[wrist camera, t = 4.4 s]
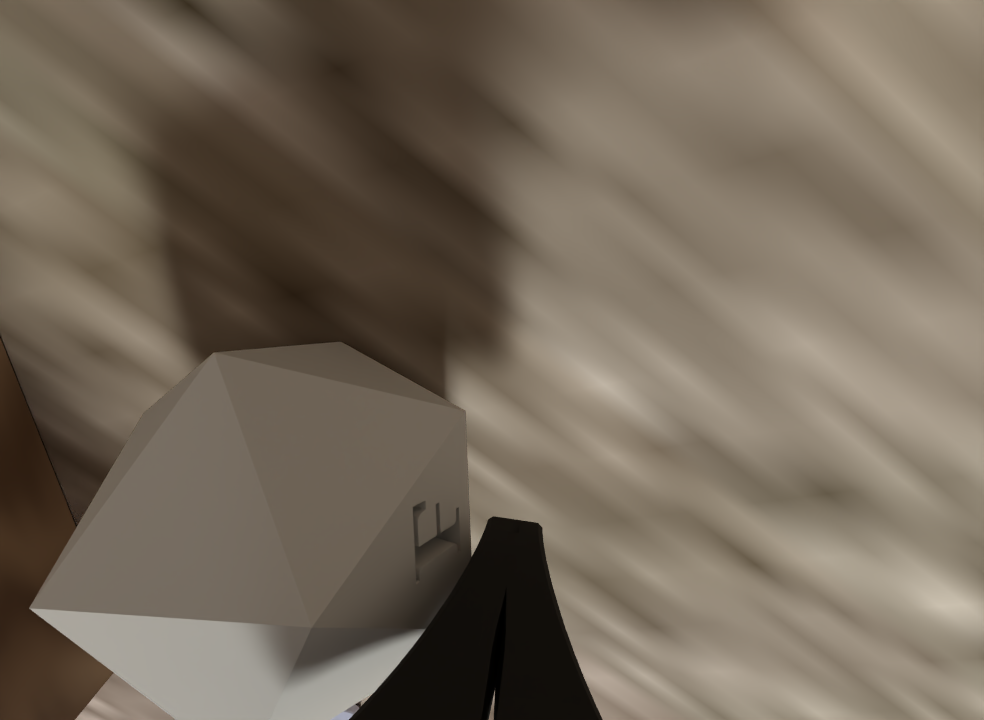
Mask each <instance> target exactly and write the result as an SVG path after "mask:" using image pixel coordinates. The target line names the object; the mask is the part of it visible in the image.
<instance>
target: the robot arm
mask: <svg viewBox="0 0 984 720" xmlns="http://www.w3.org/2000/svg"><path fill="white" fill-rule="evenodd" d="M494 691H495V703H494V720H602V717H601V715H600V713H599V711H598V709H597V707H596V704H595V702H594V700H593V698H592V695H591V693H590V691H589V688H588V686H587V684H586V681H585V679H584V677H583V674H582V672H581V669H580V667H579V664H578V661H577V659H576V656H575V654H574V651H573V648H572V645H571V643H570V640H569V637H568V634H567V632H566V629H565V626H564V623H563V620H562V616H561V613H560V610H559V606H558V603H557V600H556V596H555V593H554V590H553V586H552V582H551V578H550V574H549V570H548V565H547V561H546V556H545V550H544V543H543V534H542V527H541V526H540V525H539V524H538V523H534V522H528V521H521V520H514V519H507V518H501V517H494V516H493V517H492V518H490V519H488V522H487V525H486V528H485V530H484V533H483V535H482V537H481V540H480V542H479V544H478V546H477V548H476V550H475V552H474V554H473V556H472V557H471V559H470V561H469V563H468V565H467V567H466V568H465V570H464V572H463V573H462V575H461V577H460V578H459V580H458V582H457V583H456V585H455V587H454V588H453V590H452V592H451V593H450V595H449V596H448V598H447V599H446V601H445V602H444V604H443V605H442V606H441V608H440V609H439V611H438V612H437V614H436V615H435V617H434V618H433V620H432V621H431V623H430V624H429V625H428V627H427V628H426V629H425V631H424V632H423V634H422V635H421V636H420V638H419V639H418V640H417V641H416V643H415V644H414V645H413V647H412V648H411V649H410V650H409V652H408V653H407V654H406V655H405V657H404V658H403V659H402V660H401V662H400V663H399V664H398V665H397V667H396V668H395V669H394V670H393V671H392V672H391V674H390V675H389V676H388V677H387V678H386V679H385V680H384V682H383V683H382V684H381V685H380V686H379V687H378V688H377V690H376V691H375V692H374V693H373V694H372V695H371V696H370V698H369V699H368V700H367V701H366V702H365V703H364V704H363V705H362V706H361V707H360V708H359V707H358V706H357V705H353V706H351V707H350V708H348V709H347V710H345V711H343V712H342V713H340V714H339V715H337V716H335V717H334V718H332V719H331V720H488V719H489V715H490V710H491V705H492V700H493V696H494Z"/></svg>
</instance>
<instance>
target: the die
mask: <svg viewBox="0 0 984 720" xmlns="http://www.w3.org/2000/svg"><path fill="white" fill-rule="evenodd" d="M470 559H471V534H470V509H469V484H468V460H467V435H466V411H465V410H463V409H461V408H459V407H458V406H456V405H454V404H452V403H450V402H449V401H447V400H445V399H443V398H441V397H440V396H438V395H436V394H434V393H432V392H431V391H429V390H427V389H425V388H423V387H422V386H420V385H418V384H416V383H414V382H413V381H411V380H409V379H407V378H405V377H404V376H402V375H400V374H398V373H396V372H395V371H393V370H391V369H389V368H387V367H386V366H384V365H382V364H380V363H378V362H377V361H375V360H373V359H371V358H369V357H368V356H366V355H364V354H362V353H360V352H359V351H357V350H355V349H353V348H351V347H350V346H348V345H346V344H344V343H342V342H330V343H319V344H307V345H295V346H283V347H272V348H260V349H248V350H237V351H225V352H214V353H213V354H211V355H210V356H209V357H208V358H207V359H206V360H204V361H203V362H202V363H201V364H200V365H199V366H198V367H196V368H195V369H194V370H193V371H192V372H191V373H189V374H188V375H187V376H186V377H185V378H184V379H183V380H181V381H180V382H179V383H178V384H177V385H176V386H174V387H173V388H172V389H171V390H170V391H169V392H168V393H166V394H165V395H164V396H163V397H162V398H161V399H159V400H158V401H157V402H156V403H155V404H154V405H153V406H151V407H150V408H149V409H148V410H147V411H146V412H144V413H143V415H142V417H141V418H140V420H139V422H138V423H137V425H136V427H135V428H134V430H133V432H132V434H131V435H130V437H129V439H128V440H127V442H126V444H125V446H124V447H123V449H122V451H121V452H120V454H119V456H118V457H117V459H116V461H115V463H114V464H113V466H112V468H111V469H110V471H109V473H108V475H107V476H106V478H105V480H104V481H103V483H102V485H101V486H100V488H99V490H98V492H97V493H96V495H95V497H94V498H93V500H92V502H91V504H90V505H89V507H88V509H87V510H86V512H85V514H84V515H83V517H82V519H81V521H80V522H79V524H78V526H77V527H76V529H75V531H74V533H73V534H72V536H71V538H70V539H69V541H68V543H67V544H66V546H65V548H64V550H63V551H62V553H61V555H60V556H59V558H58V560H57V561H56V563H55V565H54V567H53V568H52V570H51V572H50V573H49V575H48V577H47V579H46V580H45V582H44V584H43V585H42V587H41V589H40V590H39V592H38V594H37V596H36V597H35V599H34V601H33V602H32V604H31V606H30V608H29V609H31V610H32V611H33V612H34V613H36V614H37V615H38V616H40V617H41V618H42V619H44V620H45V621H46V622H48V623H49V624H50V625H52V626H53V627H54V628H56V629H57V630H58V631H60V632H61V633H62V634H63V635H65V636H66V637H67V638H69V639H70V640H71V641H73V642H74V643H75V644H77V645H78V646H79V647H81V648H82V649H83V650H85V651H86V652H87V653H89V654H90V655H91V656H93V657H94V658H95V659H96V660H98V661H99V662H100V663H102V664H103V665H104V666H106V667H107V668H108V669H110V670H111V671H112V672H114V673H115V674H116V675H118V676H119V677H120V678H122V679H123V680H124V681H125V682H127V683H128V684H129V685H131V686H132V687H133V688H135V689H136V690H137V691H139V692H140V693H141V694H143V695H144V696H145V697H147V698H148V699H149V700H151V701H152V702H153V703H154V704H156V705H157V706H158V707H160V708H161V709H162V710H164V711H165V712H166V713H168V714H169V715H170V716H172V717H173V718H174V719H176V720H331V719H332V718H334V717H335V716H337V715H339V714H340V713H342V712H343V711H345V710H347V709H348V708H350V707H351V706H353V705H355V704H356V703H358V702H360V701H361V700H363V699H364V698H366V697H368V696H369V695H371V694H372V693H374V692H375V691H376V690H377V688H378V687H379V686H380V685H381V684H382V683H383V682H384V680H385V679H386V678H387V677H388V676H389V675H390V674H391V672H392V671H393V670H394V669H395V668H396V667H397V665H398V664H399V663H400V662H401V660H402V659H403V658H404V657H405V655H406V654H407V653H408V652H409V650H410V649H411V648H412V647H413V645H414V644H415V643H416V641H417V640H418V639H419V638H420V636H421V635H422V634H423V632H424V631H425V629H426V628H427V627H428V625H429V624H430V623H431V621H432V620H433V618H434V617H435V615H436V614H437V612H438V611H439V609H440V608H441V606H442V605H443V604H444V602H445V601H446V599H447V598H448V596H449V595H450V593H451V592H452V590H453V588H454V587H455V585H456V583H457V582H458V580H459V578H460V577H461V575H462V573H463V572H464V570H465V568H466V567H467V565H468V563H469V561H470Z"/></svg>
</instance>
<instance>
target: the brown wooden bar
mask: <svg viewBox="0 0 984 720" xmlns="http://www.w3.org/2000/svg"><path fill="white" fill-rule="evenodd" d="M75 529H76V525H75V523H74V520H73V518H72V515H71V513H70V510H69V508H68V505H67V503H66V500H65V498H64V495H63V493H62V490H61V488H60V485H59V483H58V480H57V478H56V475H55V473H54V470H53V468H52V466H51V463H50V461H49V458H48V456H47V453H46V451H45V448H44V446H43V443H42V441H41V438H40V436H39V433H38V431H37V428H36V426H35V423H34V421H33V418H32V416H31V413H30V411H29V408H28V406H27V403H26V401H25V398H24V396H23V393H22V391H21V388H20V386H19V383H18V381H17V378H16V376H15V373H14V371H13V369H12V366H11V364H10V361H9V359H8V356H7V354H6V351H5V349H4V346H3V344H2V341H1V339H0V720H75V719H76V718H77V716H78V715H79V714H80V713H81V712H82V710H83V709H84V708H85V707H86V705H87V704H88V703H89V702H90V701H91V699H92V698H93V697H94V696H95V695H96V693H97V692H98V691H99V690H100V688H101V687H102V686H103V685H104V684H105V682H106V681H107V680H108V679H109V678H110V676H111V675H112V674H113V673H114V672H112V671H111V670H110V669H108V668H107V667H106V666H104V665H103V664H102V663H100V662H99V661H98V660H96V659H95V658H94V657H93V656H91V655H90V654H89V653H87V652H86V651H85V650H83V649H82V648H81V647H79V646H78V645H77V644H75V643H74V642H73V641H71V640H70V639H69V638H67V637H66V636H65V635H63V634H62V633H61V632H60V631H58V630H57V629H56V628H54V627H53V626H52V625H50V624H49V623H48V622H46V621H45V620H44V619H42V618H41V617H40V616H38V615H37V614H36V613H34V612H33V611H32V610H31V609H29V608H30V606H31V604H32V602H33V601H34V599H35V597H36V596H37V594H38V592H39V590H40V589H41V587H42V585H43V584H44V582H45V580H46V579H47V577H48V575H49V573H50V572H51V570H52V568H53V567H54V565H55V563H56V561H57V560H58V558H59V556H60V555H61V553H62V551H63V550H64V548H65V546H66V544H67V543H68V541H69V539H70V538H71V536H72V534H73V533H74V531H75Z"/></svg>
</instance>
